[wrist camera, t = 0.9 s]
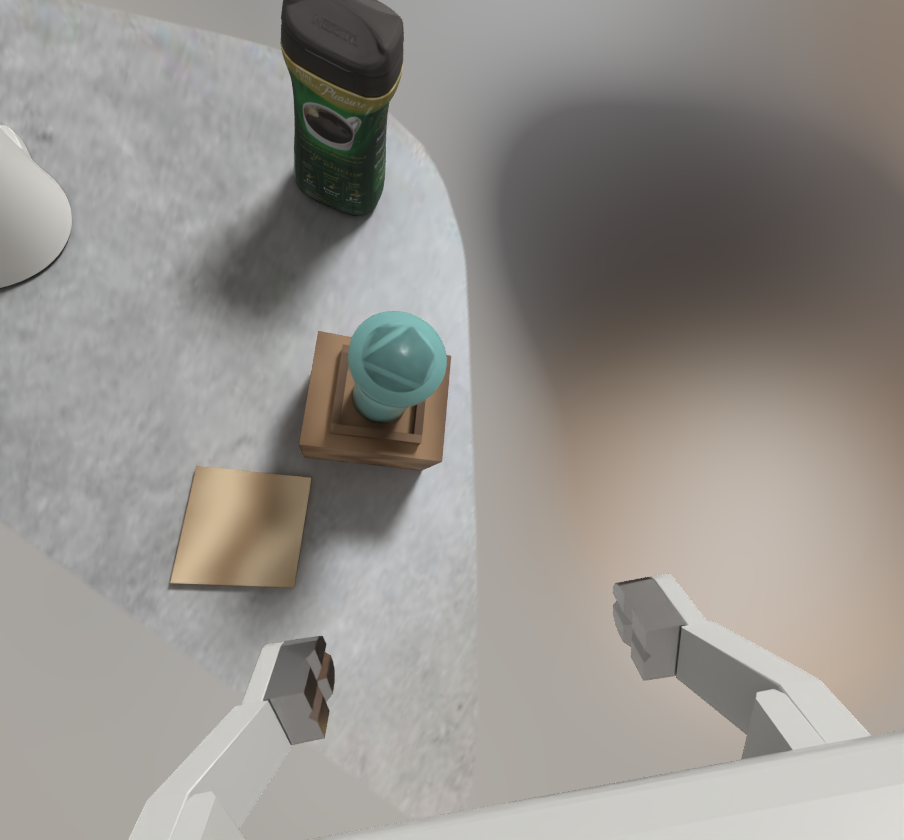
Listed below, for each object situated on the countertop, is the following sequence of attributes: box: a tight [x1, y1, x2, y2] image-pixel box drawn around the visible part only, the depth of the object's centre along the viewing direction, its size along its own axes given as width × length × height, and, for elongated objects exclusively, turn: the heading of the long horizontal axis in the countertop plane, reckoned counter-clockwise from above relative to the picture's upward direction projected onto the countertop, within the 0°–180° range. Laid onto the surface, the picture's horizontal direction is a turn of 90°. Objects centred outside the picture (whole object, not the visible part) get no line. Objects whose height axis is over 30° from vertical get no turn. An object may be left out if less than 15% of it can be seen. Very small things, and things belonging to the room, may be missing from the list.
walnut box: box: [299, 331, 451, 470], centre depth 40 cm, size 12×10×9 cm
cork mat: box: [170, 466, 311, 587], centre depth 38 cm, size 10×10×1 cm
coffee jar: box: [281, 0, 404, 215], centre depth 40 cm, size 10×8×19 cm
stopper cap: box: [348, 311, 447, 424], centre depth 32 cm, size 6×6×10 cm
